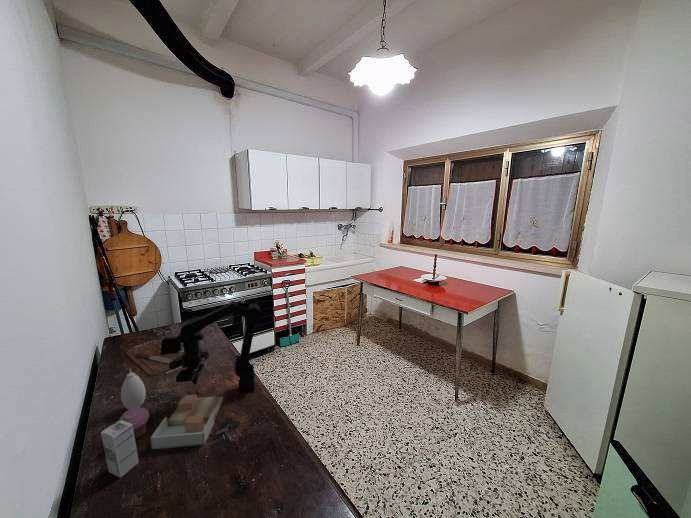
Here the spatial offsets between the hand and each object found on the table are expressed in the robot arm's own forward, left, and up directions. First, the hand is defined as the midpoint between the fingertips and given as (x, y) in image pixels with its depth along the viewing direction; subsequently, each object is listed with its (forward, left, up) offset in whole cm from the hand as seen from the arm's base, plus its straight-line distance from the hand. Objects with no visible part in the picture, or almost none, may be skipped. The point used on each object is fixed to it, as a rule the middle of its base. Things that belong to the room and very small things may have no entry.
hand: (195, 383), depth 115 cm
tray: (-4, +20, -7) cm, 22 cm away
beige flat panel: (-4, +9, -7) cm, 12 cm away
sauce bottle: (+23, +3, -7) cm, 24 cm away
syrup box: (+10, +31, -7) cm, 33 cm away
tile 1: (0, +8, -5) cm, 9 cm away
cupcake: (+14, +18, -7) cm, 24 cm away
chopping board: (+34, -42, -8) cm, 54 cm away
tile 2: (-7, +18, -4) cm, 19 cm away
